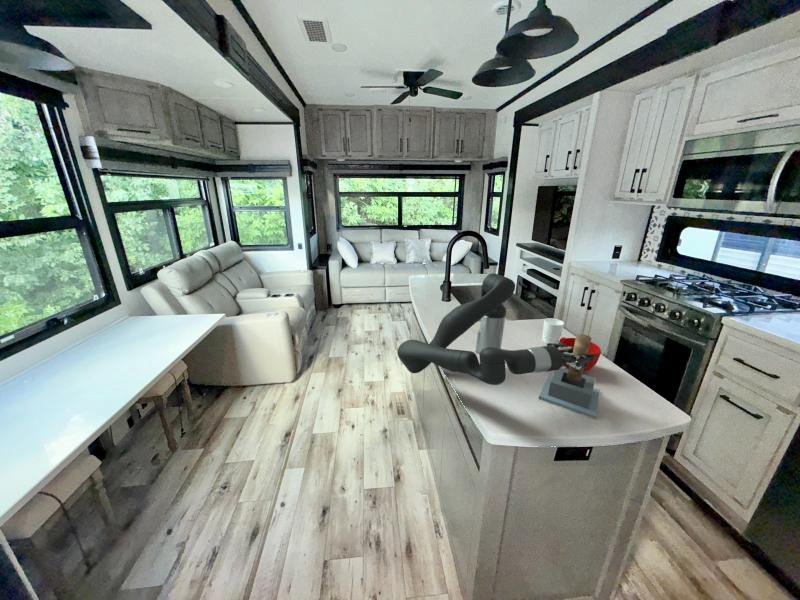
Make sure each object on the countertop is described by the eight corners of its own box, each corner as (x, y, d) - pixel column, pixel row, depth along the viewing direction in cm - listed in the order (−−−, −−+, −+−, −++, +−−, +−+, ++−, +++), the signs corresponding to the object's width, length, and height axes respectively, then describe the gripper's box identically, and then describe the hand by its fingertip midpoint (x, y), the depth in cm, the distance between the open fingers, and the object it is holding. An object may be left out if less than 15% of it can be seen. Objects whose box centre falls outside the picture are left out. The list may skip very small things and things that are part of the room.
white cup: (540, 344, 136) (544, 323, 133) (540, 336, 143) (544, 316, 140) (560, 347, 134) (564, 326, 130) (558, 339, 141) (563, 319, 137)
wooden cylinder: (566, 379, 99) (575, 337, 94) (567, 373, 102) (577, 333, 97) (580, 383, 97) (590, 341, 92) (581, 377, 100) (591, 336, 95)
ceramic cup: (571, 354, 128) (576, 332, 125) (603, 377, 113) (610, 353, 109) (543, 356, 126) (547, 334, 123) (571, 380, 111) (577, 355, 107)
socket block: (538, 398, 100) (541, 383, 98) (548, 376, 113) (551, 361, 111) (595, 419, 92) (600, 402, 90) (599, 392, 104) (603, 377, 102)
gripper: (524, 358, 101) (568, 352, 105) (555, 383, 88) (603, 376, 92) (528, 337, 98) (572, 332, 102) (560, 360, 85) (610, 353, 89)
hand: (587, 353), depth 97 cm, fingers closed on wooden cylinder, 4 cm apart
